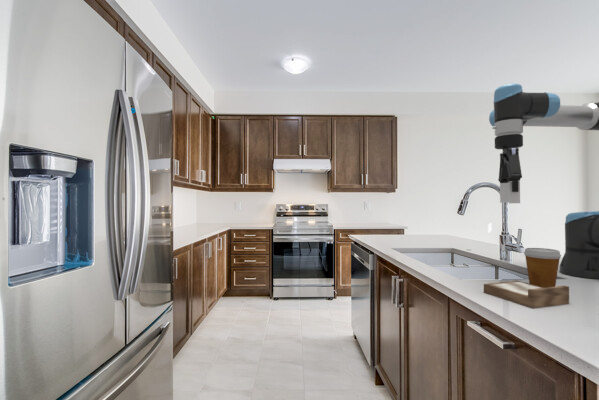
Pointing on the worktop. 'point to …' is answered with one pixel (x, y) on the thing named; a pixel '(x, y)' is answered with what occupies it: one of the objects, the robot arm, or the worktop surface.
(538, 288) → the dock board
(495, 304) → the worktop surface
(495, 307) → the worktop surface
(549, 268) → the disposable coffee cup
